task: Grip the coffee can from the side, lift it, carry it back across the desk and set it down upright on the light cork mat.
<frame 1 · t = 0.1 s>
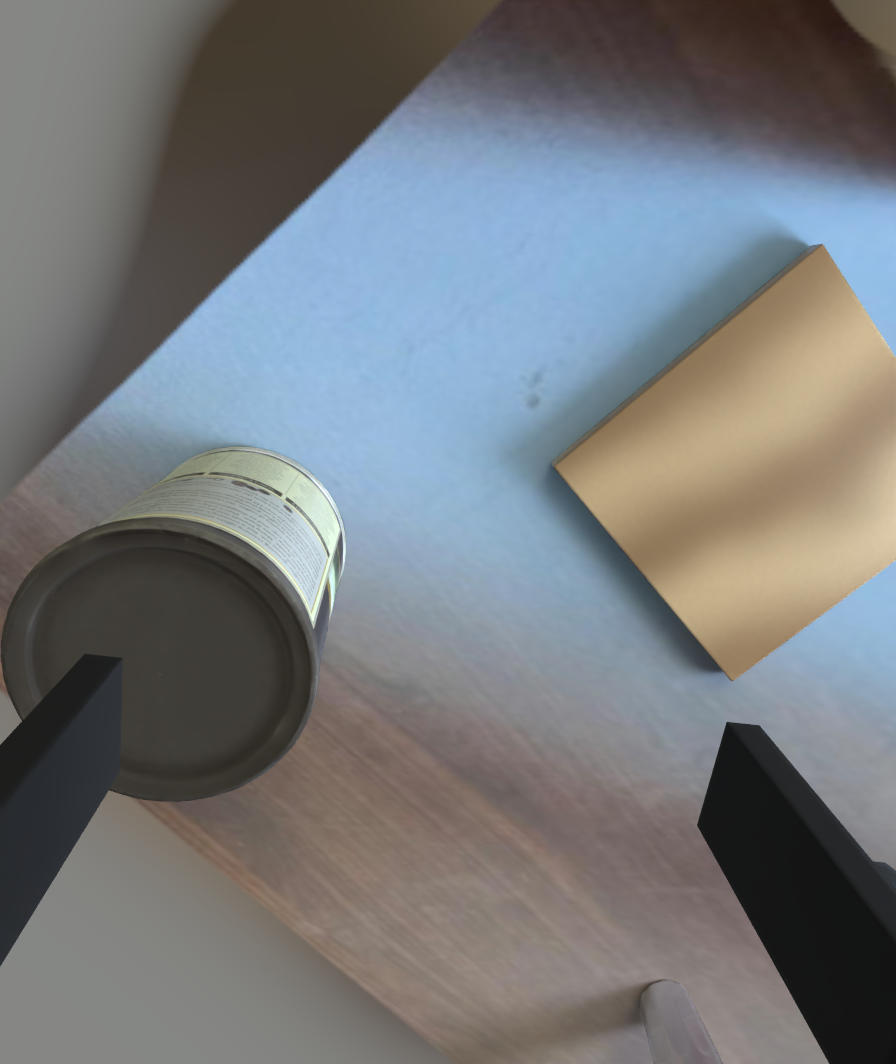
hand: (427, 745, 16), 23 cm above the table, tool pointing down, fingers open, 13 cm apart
cork mat: (764, 477, 39), on the table
milkshake: (665, 999, 49), on the table
coffee can: (248, 541, 38), on the table
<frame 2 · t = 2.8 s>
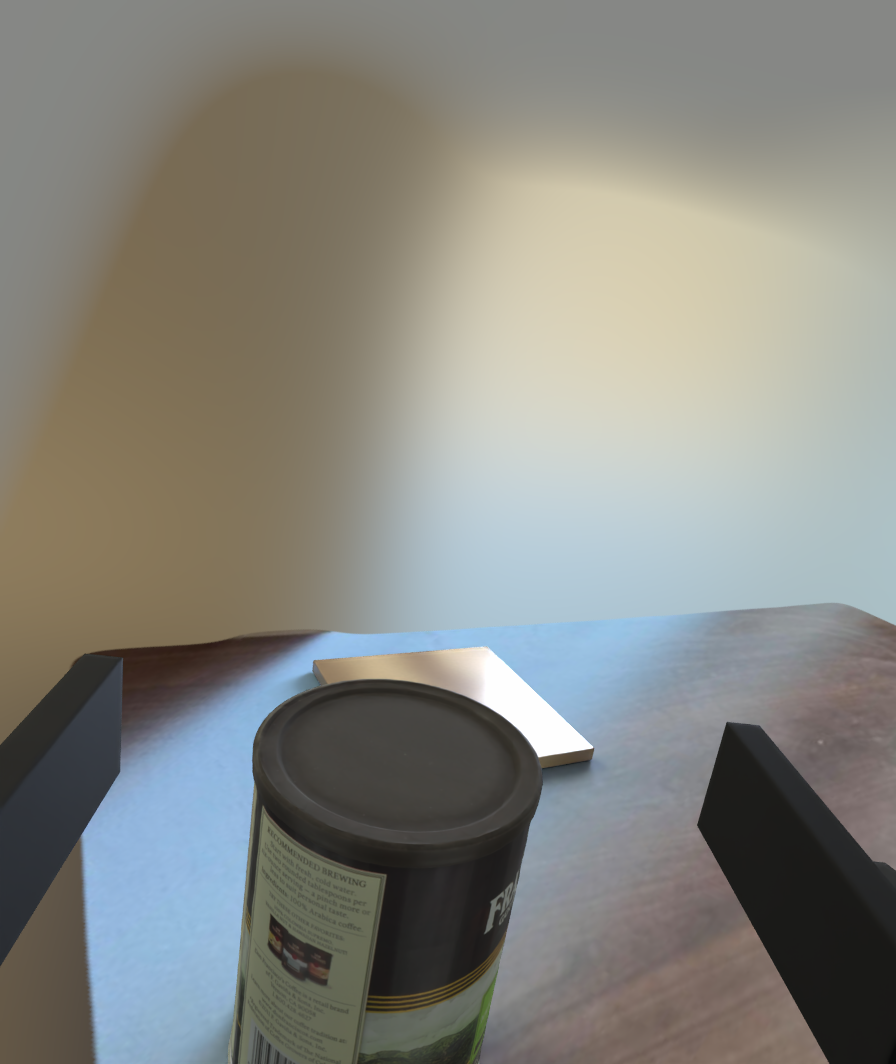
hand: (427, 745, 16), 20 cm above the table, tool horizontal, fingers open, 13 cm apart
cork mat: (444, 713, 56), on the table
coffee can: (354, 1044, 31), on the table
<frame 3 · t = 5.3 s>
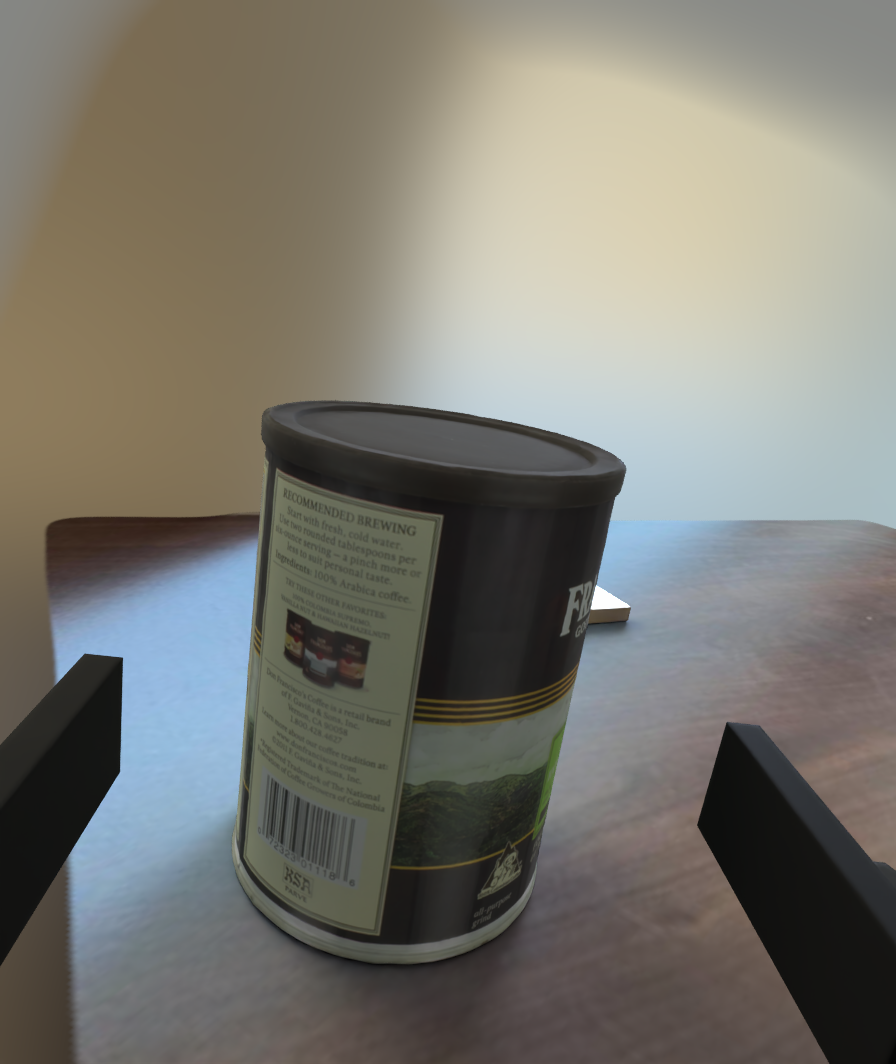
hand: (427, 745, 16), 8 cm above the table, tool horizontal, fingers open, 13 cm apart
cork mat: (462, 579, 51), on the table
coffee can: (385, 844, 25), on the table
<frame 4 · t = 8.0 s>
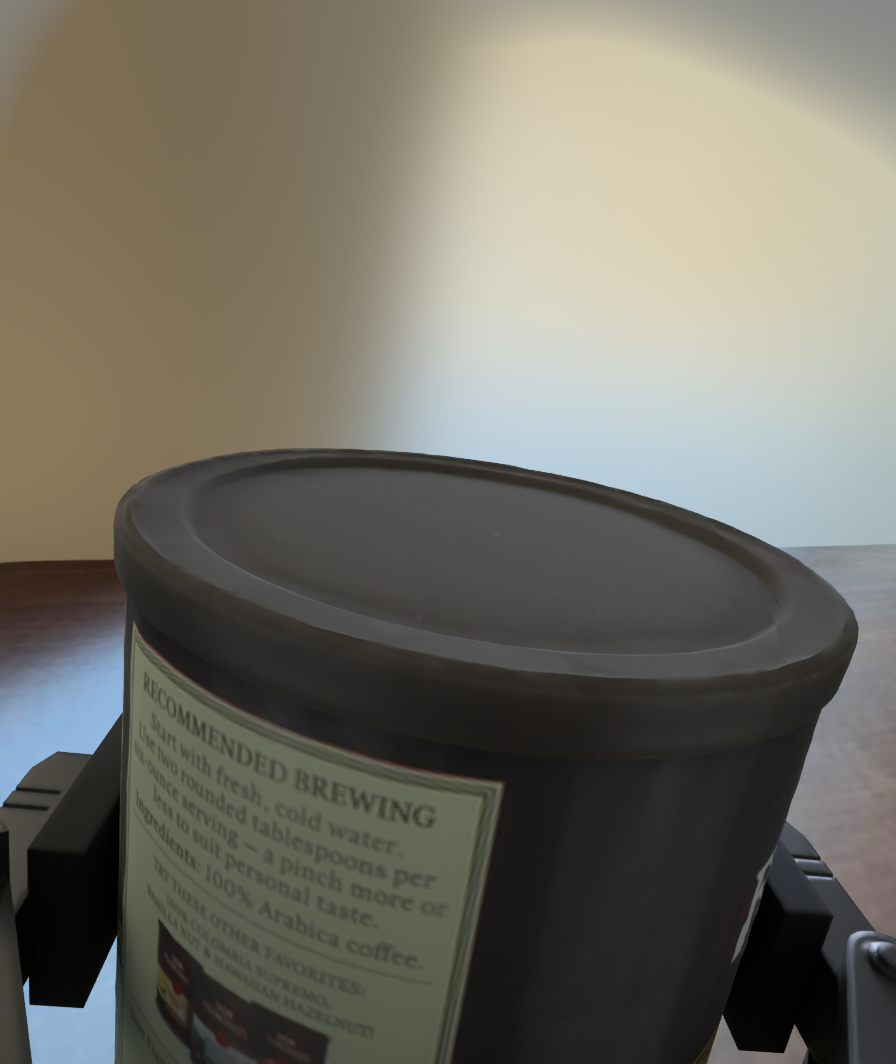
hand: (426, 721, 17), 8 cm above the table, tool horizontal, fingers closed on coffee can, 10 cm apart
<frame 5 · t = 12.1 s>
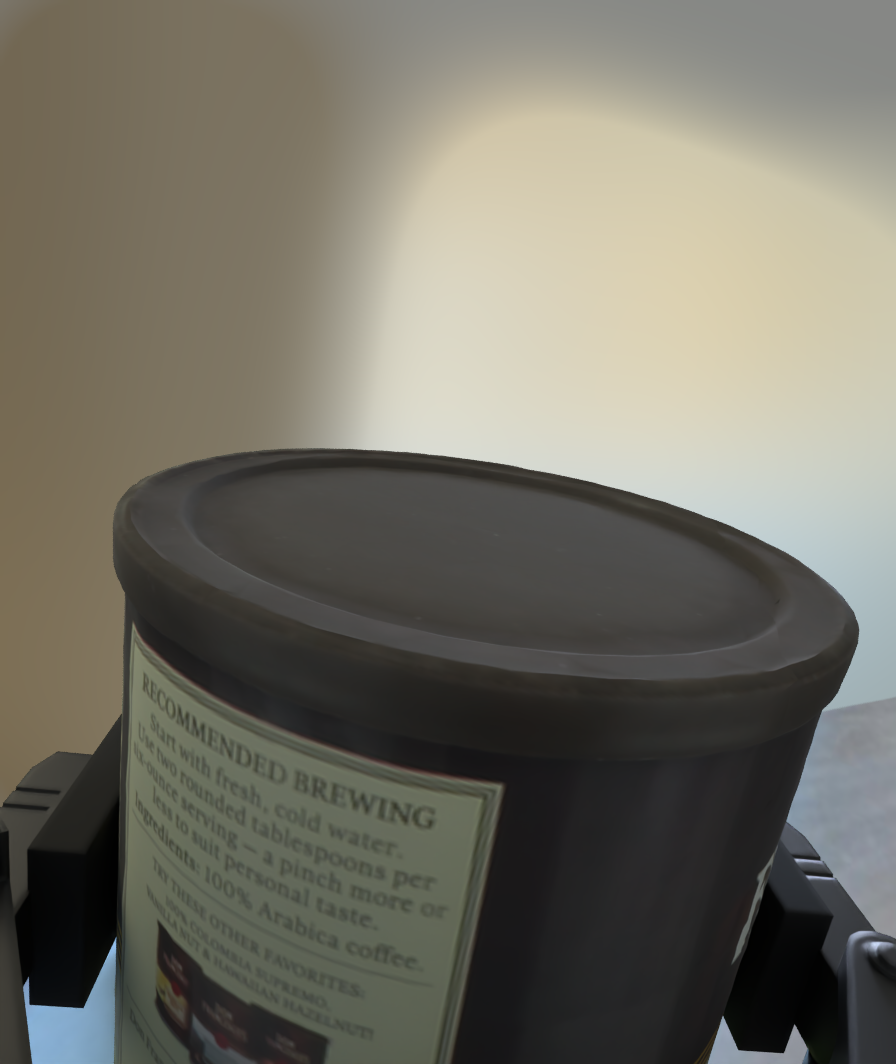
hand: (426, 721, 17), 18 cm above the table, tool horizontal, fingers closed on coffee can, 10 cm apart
when the fingers open (9 cm above the table, at t = 16.5 s): coffee can stays where it is, resting on cork mat.
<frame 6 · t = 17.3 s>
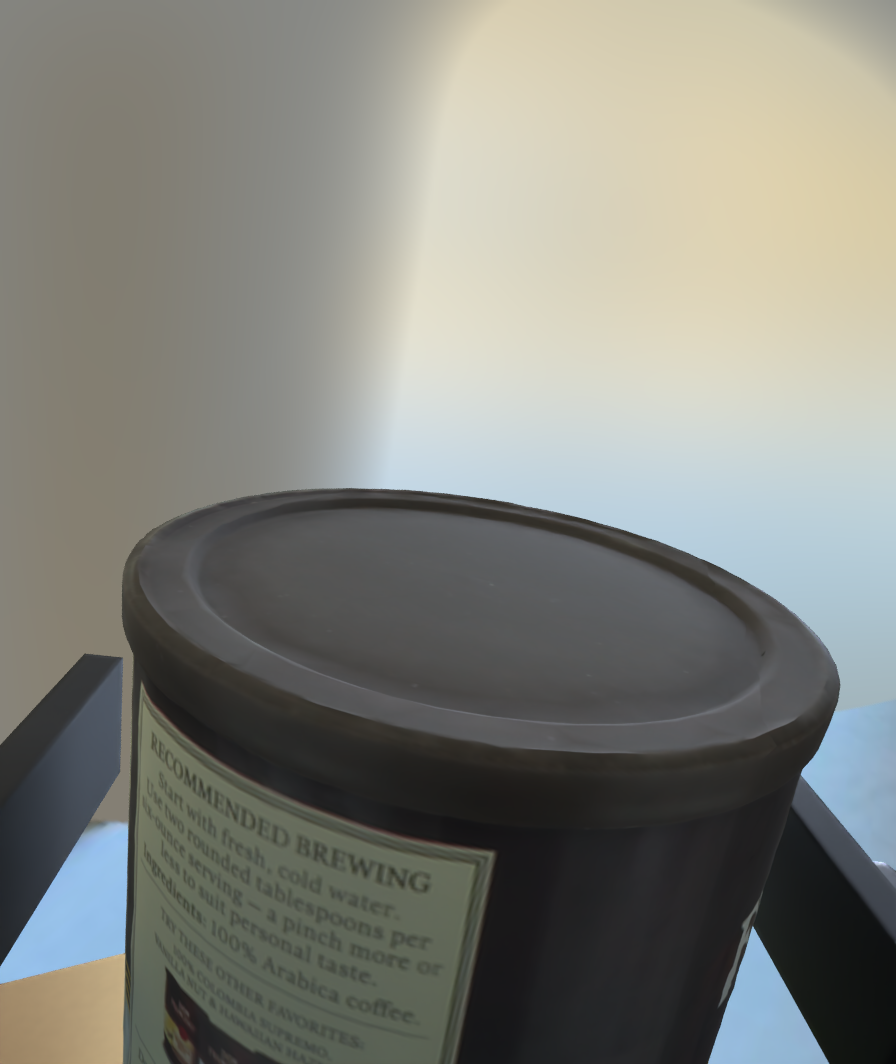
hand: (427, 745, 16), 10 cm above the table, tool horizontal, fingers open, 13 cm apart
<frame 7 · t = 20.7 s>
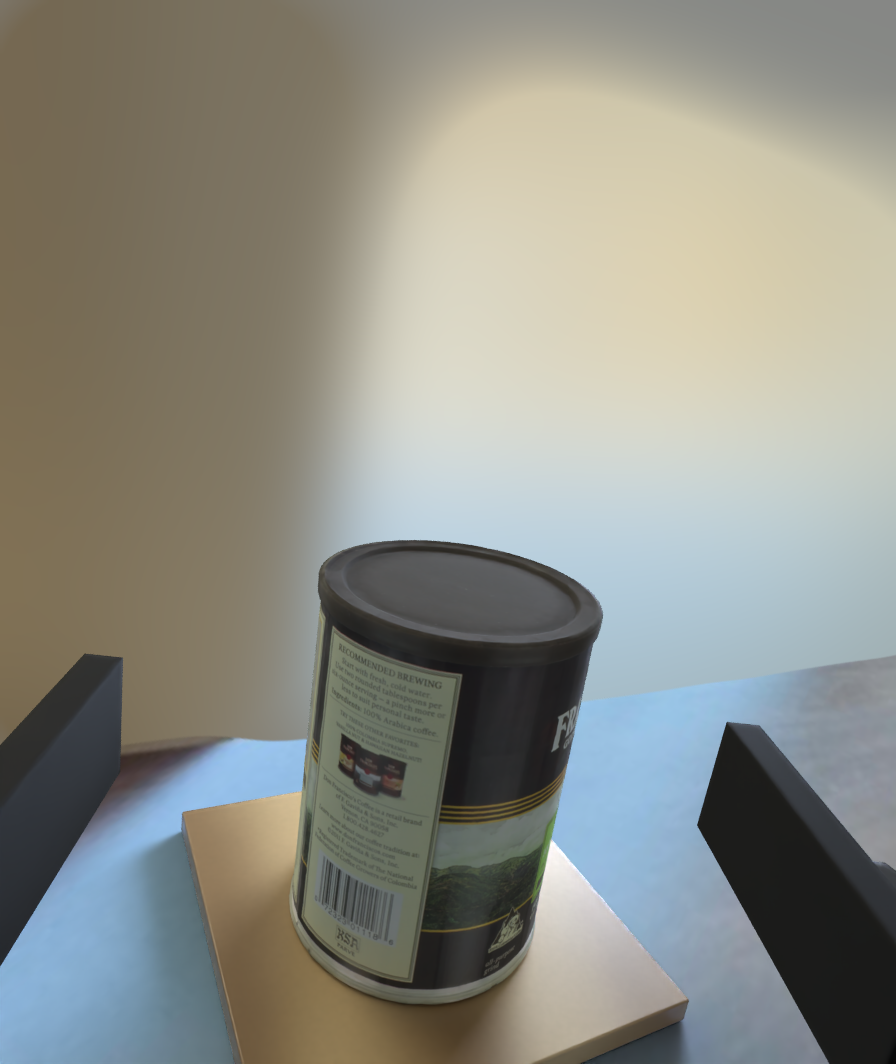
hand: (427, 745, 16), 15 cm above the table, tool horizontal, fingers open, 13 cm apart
cork mat: (408, 916, 31), on the table
coffee can: (411, 900, 31), point 1 cm above the table, touching cork mat
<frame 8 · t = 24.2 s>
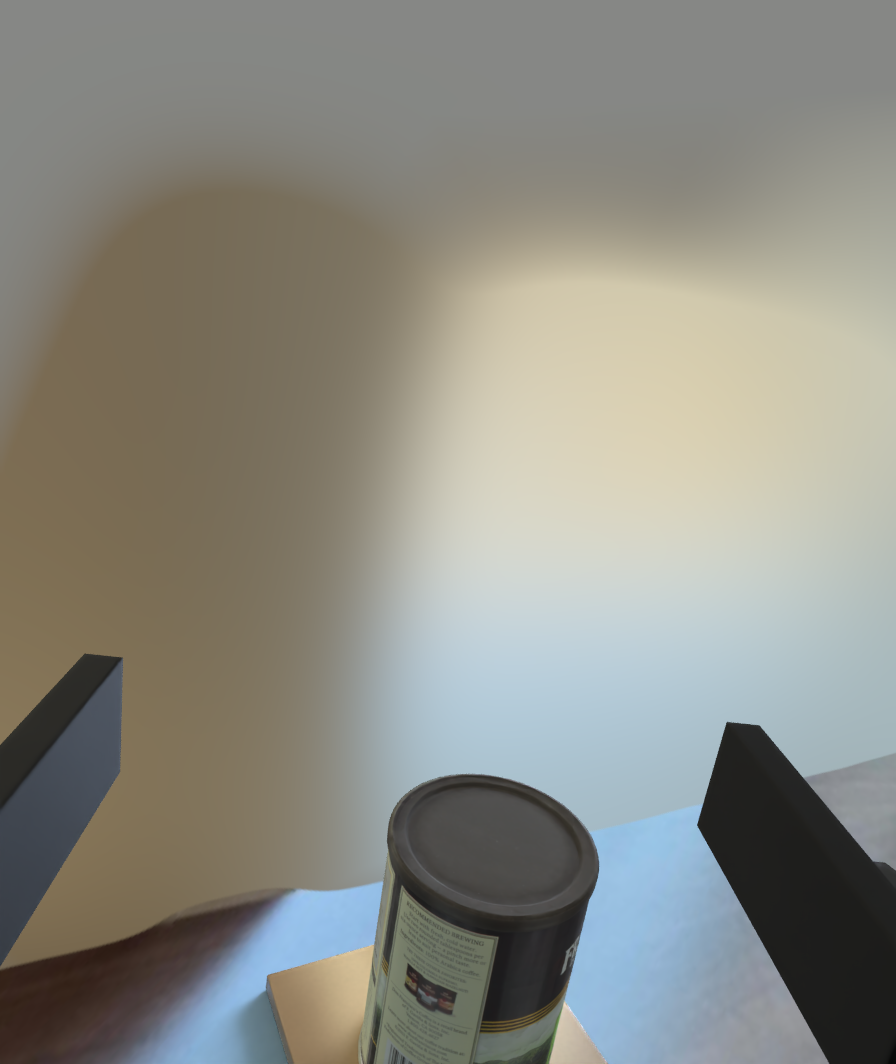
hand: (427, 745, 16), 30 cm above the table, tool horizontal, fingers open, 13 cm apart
coffee can: (450, 1055, 40), point 1 cm above the table, touching cork mat
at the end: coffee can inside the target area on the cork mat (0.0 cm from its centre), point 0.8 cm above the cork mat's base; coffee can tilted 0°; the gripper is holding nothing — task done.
